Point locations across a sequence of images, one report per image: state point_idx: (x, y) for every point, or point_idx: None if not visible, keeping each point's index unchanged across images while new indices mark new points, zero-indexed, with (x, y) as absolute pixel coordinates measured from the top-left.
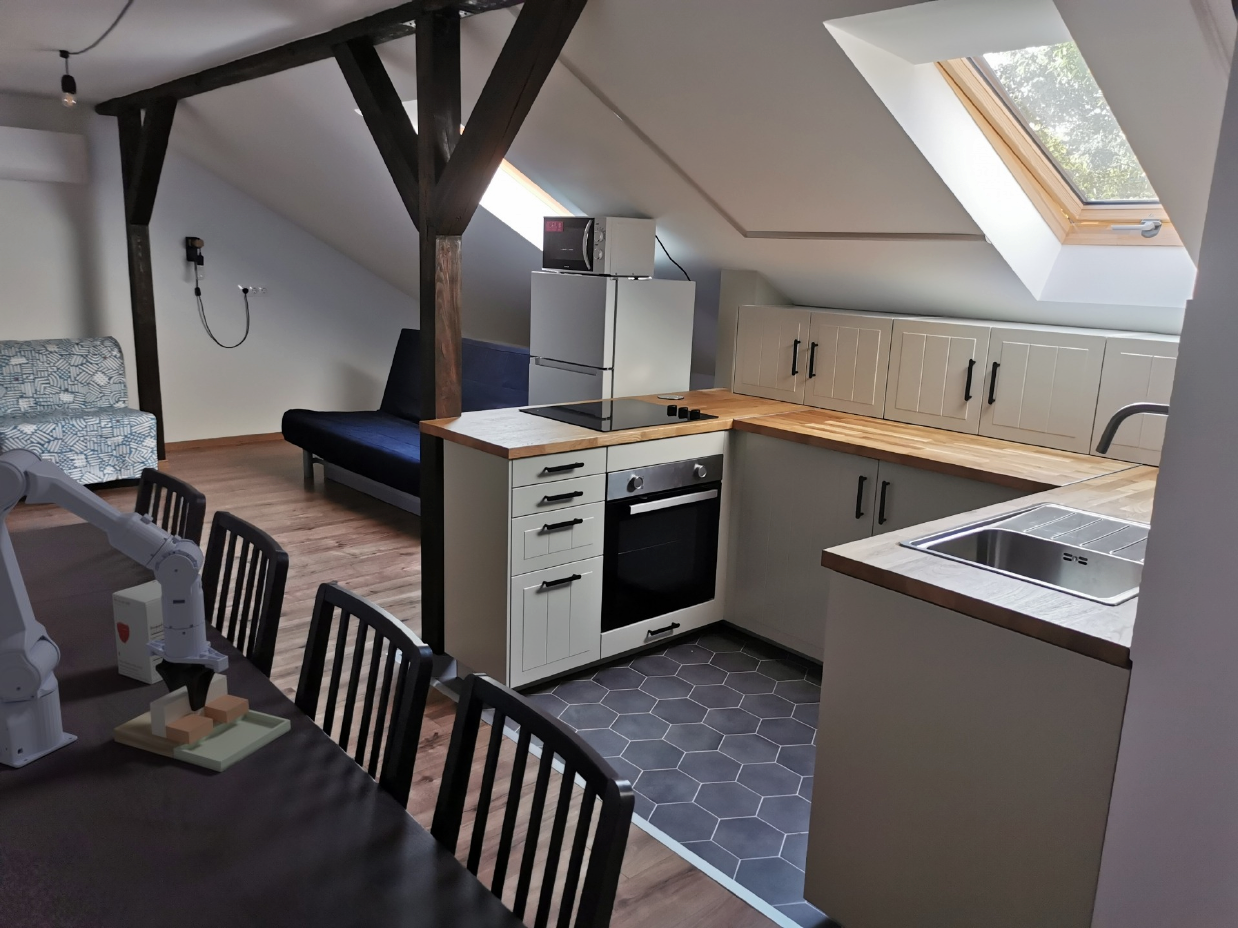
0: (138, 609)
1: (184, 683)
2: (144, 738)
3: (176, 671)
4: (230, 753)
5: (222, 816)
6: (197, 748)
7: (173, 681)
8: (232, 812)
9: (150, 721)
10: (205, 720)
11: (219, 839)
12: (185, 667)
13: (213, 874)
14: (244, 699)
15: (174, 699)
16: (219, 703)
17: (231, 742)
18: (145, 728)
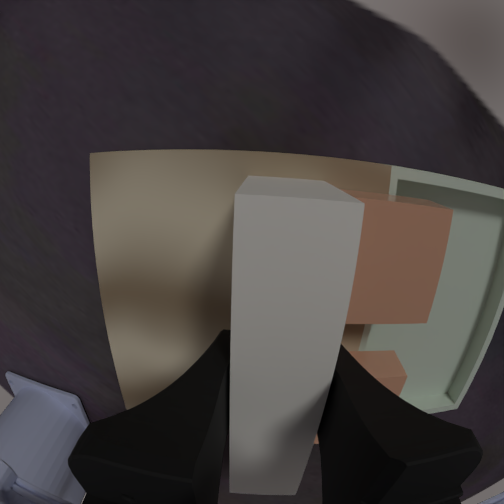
0: None
1: (224, 400)
2: None
3: (214, 496)
4: (446, 353)
5: (478, 442)
6: None
7: (220, 468)
8: (488, 433)
9: (166, 366)
10: (390, 390)
11: (483, 457)
12: (210, 462)
13: (486, 473)
14: (439, 213)
15: (291, 469)
16: (367, 284)
17: (429, 319)
18: None
